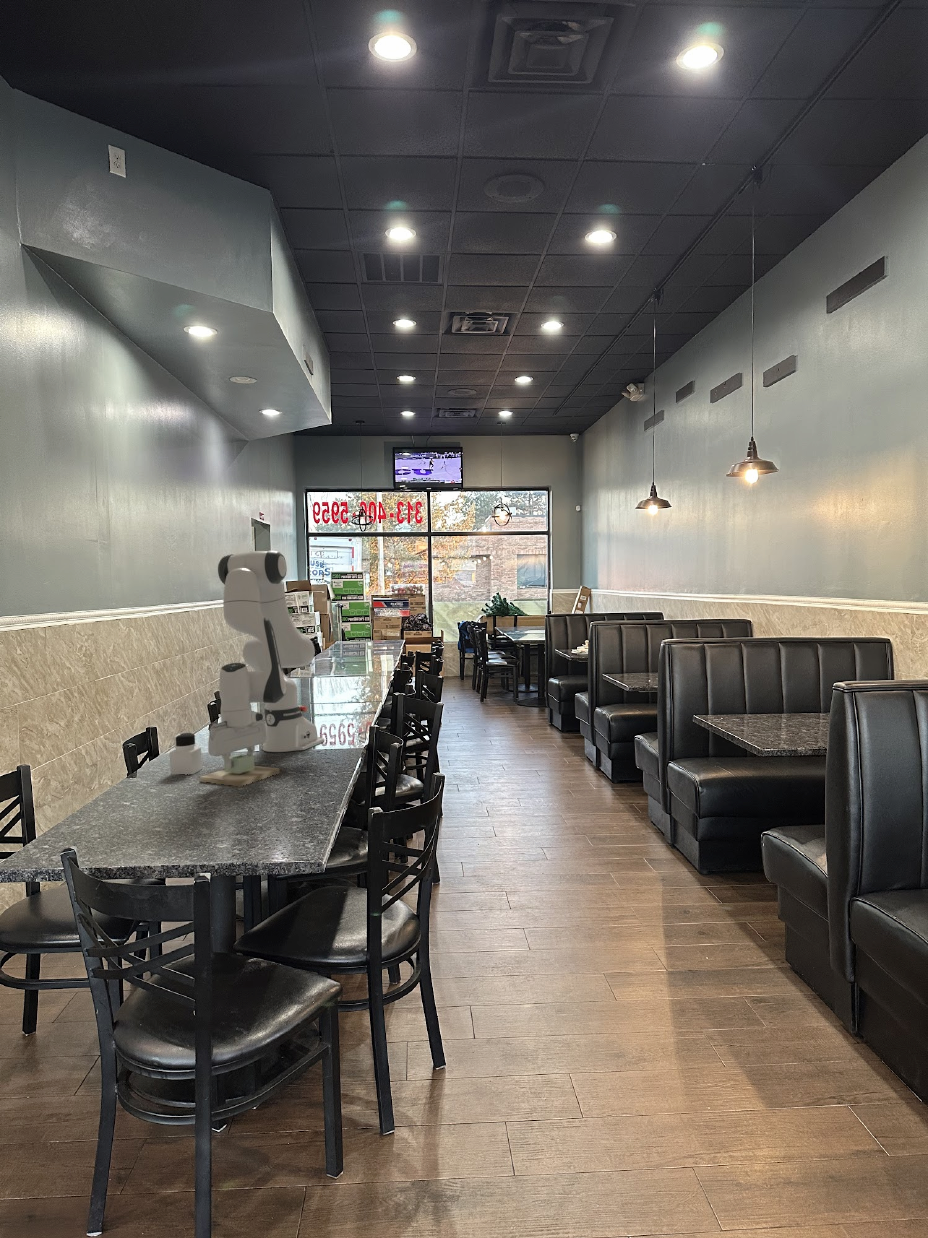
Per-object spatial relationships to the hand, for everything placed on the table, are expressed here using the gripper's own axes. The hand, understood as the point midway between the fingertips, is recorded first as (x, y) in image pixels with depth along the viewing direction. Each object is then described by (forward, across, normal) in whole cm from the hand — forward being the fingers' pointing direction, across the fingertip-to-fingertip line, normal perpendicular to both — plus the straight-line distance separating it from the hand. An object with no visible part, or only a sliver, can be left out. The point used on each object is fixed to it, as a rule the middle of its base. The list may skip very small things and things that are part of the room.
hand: (239, 764), depth 235 cm
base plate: (+4, 0, 0) cm, 4 cm away
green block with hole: (+2, 0, 0) cm, 2 cm away
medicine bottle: (+4, -1, +22) cm, 22 cm away
